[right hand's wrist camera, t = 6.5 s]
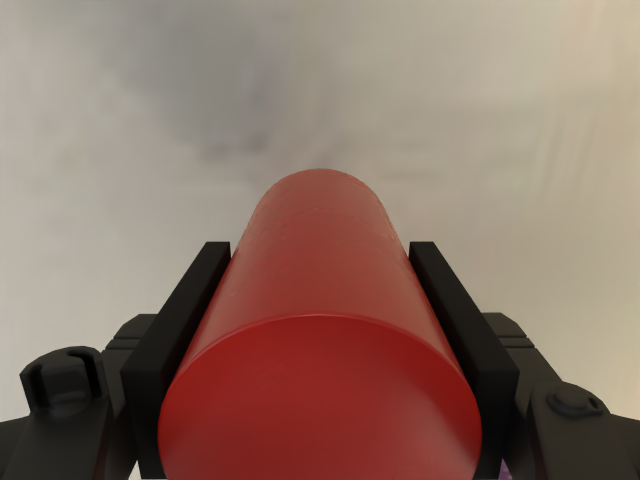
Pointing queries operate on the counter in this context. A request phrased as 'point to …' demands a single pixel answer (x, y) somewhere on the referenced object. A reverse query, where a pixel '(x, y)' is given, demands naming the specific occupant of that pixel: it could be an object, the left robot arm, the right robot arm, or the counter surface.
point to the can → (319, 354)
